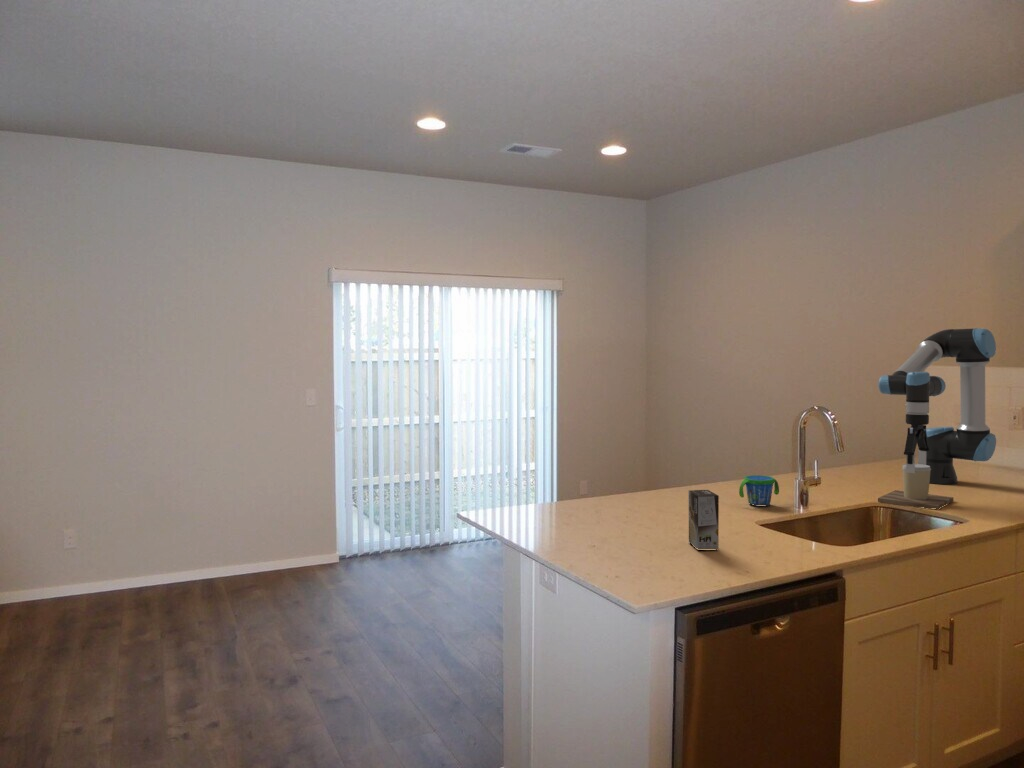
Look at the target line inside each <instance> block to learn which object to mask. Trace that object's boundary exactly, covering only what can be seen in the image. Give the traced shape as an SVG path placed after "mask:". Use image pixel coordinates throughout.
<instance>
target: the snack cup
mask: <svg viewBox="0 0 1024 768" xmlns="http://www.w3.org/2000/svg"><path fill="white" fill-rule="evenodd" d="M744 487H745V488H746V496H747V497H746V498H747V501H748V502H747V503H748V504H749V503H750V504H754V505H769V504H770V505H771V501H772V496H773V494H772V493H774V495H776V496H777V495H779V493H780V485H779V482H778V480H776V479H775V478H774V476H769V475H762V474H761V475H759V474H755V475H754V474H753V475H746V476H745V477H744V478H743V480H742V481H741V483H740V486H739V490H738V493H739V497H740V498H744V497H745V494H744ZM773 490H774V491H773ZM750 504H749V505H750ZM770 505H769V506H770Z"/></svg>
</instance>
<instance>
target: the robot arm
mask: <svg viewBox="0 0 1024 768" xmlns="http://www.w3.org/2000/svg"><path fill="white" fill-rule="evenodd" d="M996 350H997V344H996V339H995V337H994V334H993V333H992V332H991V330H989V329H987V328H977V327H976V328H974V327H973V328H948V329H944V330H939V331H937V332H935V333H933V334H932V335H929V336H928V337H926V338H924V340H922V342H920V343H919V345H918V346H917V349H916V351H915V352H914V353H912V355H910V357H909V358H907V360H906V361H904V363H903V364H902V365H900V366H899V367H898V368H897V369H896V370H895V371H894V372H893V373H892V374H891V375H890V374H887V375H886V374H885V375H881V377H879V380H878V385H877V386H878V390H879V392H880V393H881V394H884V395H891V396H892V395H894V396H895V395H896V396H906V397H905V398H906V399H905V404H904V407H905V412H906V414H905V423H906V424H907V425H911V426H910V427H908V428H907V434H906V440H905V446H904V451H903V455H905V456H906V458H905V459H906V461H905V464H906V473H915V464H916V455H915V454H916V453H915V452H916V450H917V447H918V450H917V464H923V465H928V466H930V468H931V470H930V481H929V484H934V483H935V485H954V484H957V483H958V475H957V473H956V469H955V466H954V460H956V459H957V460H963V461H964V460H965V461H973V462H988V461H989V460H990V459H992V457H993V455H994V453H995V450H996V446H997V438H996V434H994V433H991V428H990V427H989V426H988V425H987V424H986V366H987V365H988V364H989V363H990V362H991V361H990V359H992V358H993V357H995V354H996ZM942 358H955V362H956V364H958V365H959V369H960V370H959V371H960V377H959V378H960V380H959V381H960V383H959V384H960V388H959V389H960V424H959V425H958V426H957V427H956V430H955V428H954V427H953V426H940V427H939V426H938V427H928V428H927V425H929V423H930V415H929V413H930V397H936V396H937V397H938V396H940V395H942V394H943V393H944V392H945V390H946V382H945V380H944V379H943V378H942V377H939V376H936V375H930V373H929V372H928V371H926V370H927V368H929V367H930V366H931V365H932V364H933V363H934V362H937V361H940V360H941V359H942Z"/></svg>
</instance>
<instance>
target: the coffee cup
mask: <svg viewBox="0 0 1024 768" xmlns="http://www.w3.org/2000/svg"><path fill="white" fill-rule="evenodd" d="M901 468H902V480H903V481H902V483H903V491H904V497H905V498H909V499H916V500H925V499H928V494H929V490H930V489H929V488H930V483H929V481H930V470H931V468H930V466H928V465H923V464H918V463H915V473H906V463H905V464H903V465H902V467H901Z"/></svg>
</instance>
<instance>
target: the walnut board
mask: <svg viewBox="0 0 1024 768" xmlns="http://www.w3.org/2000/svg"><path fill="white" fill-rule="evenodd" d="M954 500H955V499H954V496H946V495H937V494H931V493H930V494H929V493H928V499H925V500H916V499H909V498H905V497H904V490H899V489H898V490H892V491H891V492H888V493H887V494H884V495H881V496H879V497H877V502H878V503H884V504H890V505H897V506H898V505H899V506H904V507H912V506H913V508H919V507H924V508H923V509H926V508H936V509H939V508H940V507H942V506H944V505H946V504H948V503H950V502H951V503H953V502H954ZM952 501H953V502H952ZM951 503H950V504H951ZM948 505H949V504H948ZM946 506H947V505H946ZM944 507H945V506H944ZM939 510H940V509H939Z"/></svg>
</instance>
